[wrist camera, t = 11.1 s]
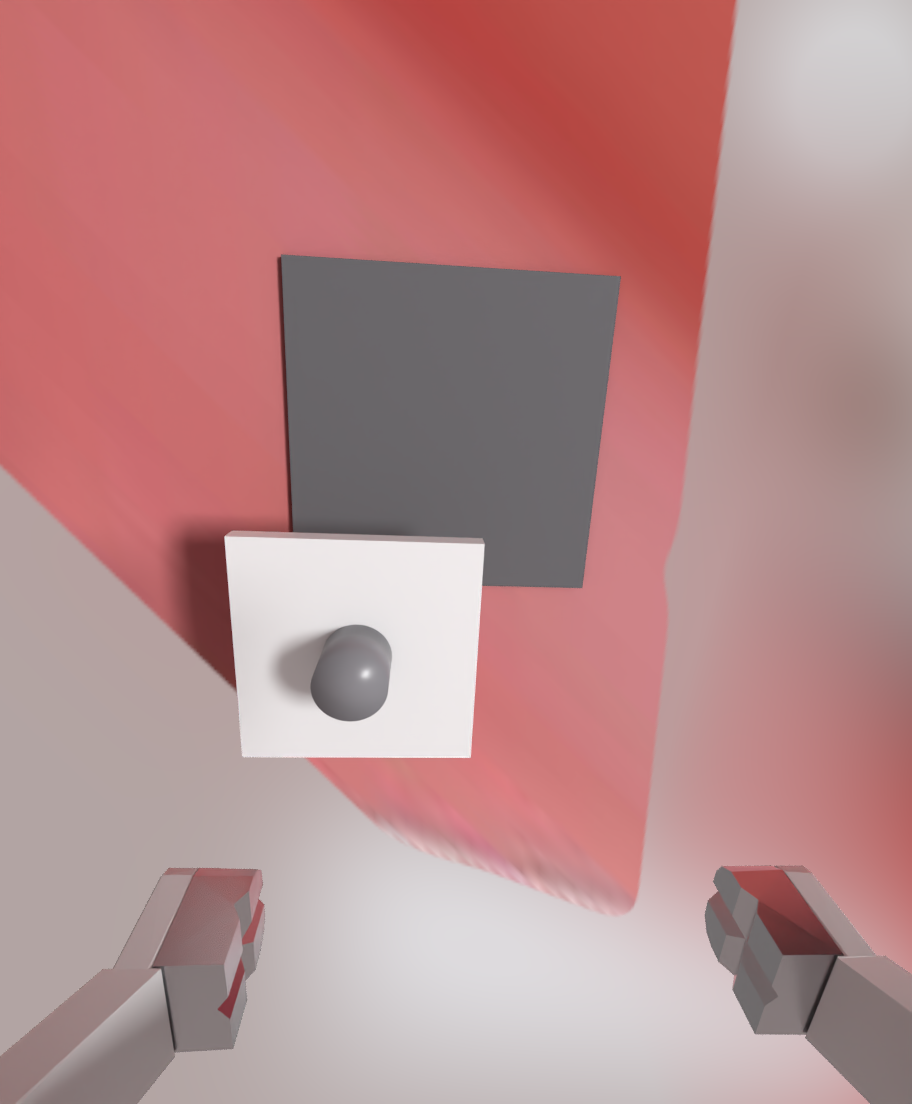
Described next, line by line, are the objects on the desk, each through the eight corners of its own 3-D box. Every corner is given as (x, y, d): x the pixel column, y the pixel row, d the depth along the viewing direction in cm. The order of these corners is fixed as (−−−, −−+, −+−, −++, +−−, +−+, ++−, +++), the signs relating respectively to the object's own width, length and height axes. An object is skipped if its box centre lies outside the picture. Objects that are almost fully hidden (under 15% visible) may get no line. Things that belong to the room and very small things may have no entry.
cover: (232, 530, 30) (198, 556, 26) (482, 538, 31) (492, 564, 26) (248, 744, 34) (221, 799, 30) (469, 745, 35) (475, 798, 31)
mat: (282, 256, 31) (281, 254, 31) (618, 277, 33) (620, 276, 32) (296, 579, 37) (295, 581, 37) (580, 585, 39) (582, 587, 38)
